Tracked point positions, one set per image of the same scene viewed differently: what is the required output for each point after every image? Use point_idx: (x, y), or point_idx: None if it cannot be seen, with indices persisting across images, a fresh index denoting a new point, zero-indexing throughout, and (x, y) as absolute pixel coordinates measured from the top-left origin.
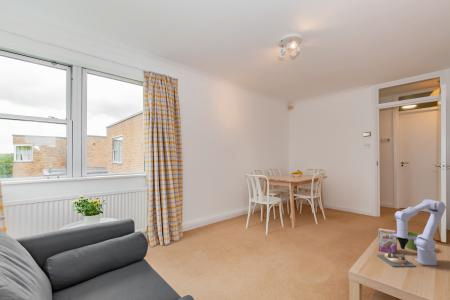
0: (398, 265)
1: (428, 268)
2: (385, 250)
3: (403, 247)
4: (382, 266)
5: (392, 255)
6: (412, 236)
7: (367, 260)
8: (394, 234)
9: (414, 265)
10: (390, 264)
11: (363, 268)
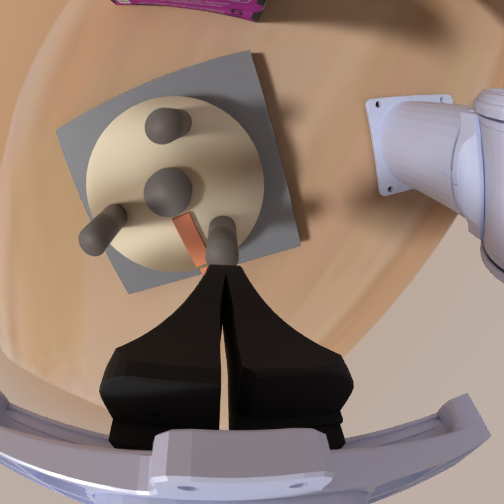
0: (167, 281)
1: (376, 234)
2: (161, 3)
3: (224, 331)
4: (77, 294)
5: (154, 159)
6: (439, 470)
7: (11, 241)
8: (45, 483)
9: (294, 246)
10: (119, 273)
11: (17, 330)
